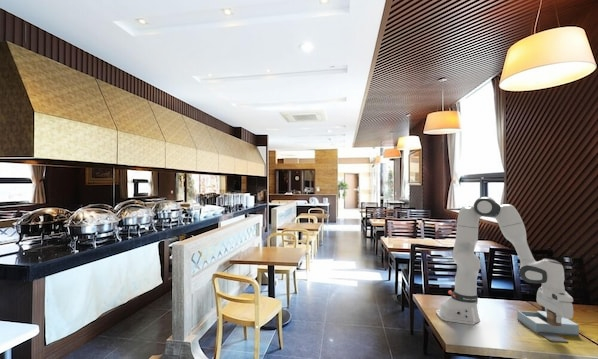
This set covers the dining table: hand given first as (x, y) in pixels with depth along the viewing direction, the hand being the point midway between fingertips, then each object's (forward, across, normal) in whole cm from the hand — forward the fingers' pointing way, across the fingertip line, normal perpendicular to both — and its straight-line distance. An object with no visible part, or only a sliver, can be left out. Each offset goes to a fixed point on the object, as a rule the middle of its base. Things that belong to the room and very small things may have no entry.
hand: (553, 319), depth 149 cm
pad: (+9, 0, 0) cm, 9 cm away
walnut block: (+2, 0, 0) cm, 2 cm away
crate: (+9, -13, +5) cm, 16 cm away
